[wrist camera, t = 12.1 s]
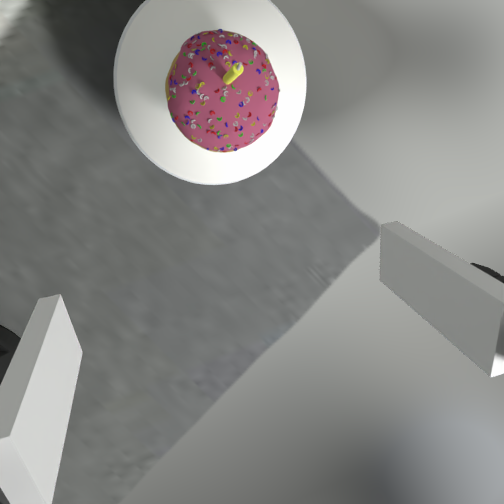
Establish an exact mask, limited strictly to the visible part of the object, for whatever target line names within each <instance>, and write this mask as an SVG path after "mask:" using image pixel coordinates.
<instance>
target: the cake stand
mask: <svg viewBox="0 0 504 504" xmlns="http://www.w3.org/2000/svg"><path fill="white" fill-rule="evenodd" d="M218 29H222V30H225V31H230V32H235V33H239V34H241V35H243V36H245V37H247V38H249V39H250V40H252V41H254V43H256V44H257V45H258V46H259V47H261V48H262V49H263V50H264V52H265V53H266V54H267V55H268V58H269V60H270V63H271V65H272V68H273V70H274V73H275V75H276V76H277V80H278V83H279V89H280V92H279V97H278V103H277V106H278V110H277V111H276V113H275V118H274V119H273V122H272V125H271V126H270V128H269V129H268V131H267V132H266V133H265V134H263V135H262V136H261V137H260V138H258V139H257V140H256V141H255V142H253V143H252V144H250V145H248V146H246V147H244V148H241V149H239V150H237V151H233V152H227V153H220V152H212V151H208V150H205V149H203V148H201V147H200V146H198V145H196V144H194V143H192V142H191V141H189V140H188V139H187V138H186V137H185V136H184V135H183V134H182V133H181V132H180V131H179V129H178V128H177V126H176V125H175V123H174V122H173V121H172V118H171V116H170V112H169V109H168V103H167V98H166V92H165V82H166V77H167V74H168V72H169V69H170V67H171V64H172V62H173V60H174V58H175V57H176V55H177V54H178V53H179V52H180V50H181V46H182V45H183V43H184V42H185V41H186V40H187V39H189V38H190V37H191V36H193V35H195V34H196V33H197V32H202V31H212V30H218ZM114 91H115V98H116V103H117V106H118V110H119V113H120V116H121V119H122V121H123V123H124V126H125V128H126V130H127V131H128V133H129V135H130V137H131V138H132V140H133V141H134V143H135V144H136V145H137V147H138V148H139V149H140V150H141V151H142V152H143V154H144V155H145V156H146V157H147V158H148V159H149V160H151V161H152V162H153V163H154V164H155V165H157V166H158V167H159V168H161V169H163V170H164V171H166V172H167V173H169V174H171V175H173V176H175V177H177V178H180V179H183V180H186V181H189V182H193V183H198V184H206V185H219V184H228V183H233V182H237V181H240V180H243V179H246V178H248V177H250V176H252V175H254V174H256V173H258V172H260V171H261V170H263V169H264V168H266V167H267V166H268V165H269V164H271V163H272V162H273V161H274V160H275V159H276V158H277V157H278V156H279V155H280V154H281V153H282V152H283V151H284V149H285V148H286V146H287V145H288V143H289V142H290V141H291V139H292V137H293V135H294V133H295V131H296V129H297V127H298V124H299V122H300V119H301V116H302V112H303V109H304V104H305V97H306V69H305V63H304V58H303V54H302V51H301V48H300V45H299V42H298V40H297V37H296V35H295V33H294V31H293V29H292V27H291V26H290V24H289V23H288V21H287V19H286V18H285V17H284V15H283V14H282V13H281V12H280V10H279V9H278V8H277V7H276V6H275V5H274V4H273V3H272V2H271V1H270V0H145V1H144V2H143V3H142V4H141V5H140V6H139V8H138V9H137V10H136V11H135V13H134V14H133V15H132V17H131V18H130V20H129V22H128V23H127V25H126V27H125V29H124V31H123V33H122V36H121V38H120V41H119V44H118V48H117V52H116V56H115V63H114Z"/></svg>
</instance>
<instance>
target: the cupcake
mask: <svg viewBox="0 0 504 504" xmlns="http://www.w3.org/2000/svg"><path fill="white" fill-rule="evenodd" d="M165 92H166V98H167V103H168V109H169V112H170V116H171V118H172V121H173V122H174V123H175V125H176V126H177V128H178V129H179V131H180V132H181V133H182V134H183V135H184V136H185V137H186V138H187V139H188V140H189V141H191V142H192V143H194V144H196V145H198V146H200V147H201V148H203V149H205V150H208V151H212V152H220V153H227V152H233V151H237V150H239V149H241V148H244V147H246V146H248V145H250V144H252V143H253V142H255V141H256V140H257V139H258V138H260V137H261V136H262V135H263V134H265V133H266V132H267V131H268V129H269V128H270V126H271V125H272V122H273V119H274V118H275V113H276V111H277V110H278V106H277V103H278V97H279V92H280V89H279V83H278V80H277V76H276V75H275V73H274V70H273V68H272V65H271V63H270V60H269V58H268V55H267V54H266V53H265V52H264V50H263V49H262V48H261V47H259V46H258V45H257V44H256V43H254V41H252V40H250V39H249V38H247V37H245V36H243V35H241V34H239V33H235V32H230V31H225V30H222V29H218V30H212V31H202V32H197V33H196V34H195V35H193V36H191V37H190V38H189V39H187V40H186V41H185V42H184V43H183V45H182V46H181V50H180V52H179V53H178V54H177V55H176V57H175V58H174V60H173V62H172V64H171V67H170V69H169V72H168V74H167V77H166V82H165Z"/></svg>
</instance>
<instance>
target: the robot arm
mask: <svg viewBox="0 0 504 504" xmlns="http://www.w3.org/2000/svg"><path fill="white" fill-rule="evenodd" d="M380 240H381V242H380V281H381V282H383V284H385V285H386V286H387V287H388V288H389V289H390V290H391V291H393V292H394V293H395V294H396V295H397V296H398V297H399V298H401V299H402V300H403V301H404V302H405V303H406V304H407V305H409V306H410V307H411V308H412V309H413V310H414V311H415V312H417V313H418V314H419V315H420V316H421V317H422V318H423V319H425V320H426V321H427V322H428V323H429V324H430V325H431V326H433V327H434V328H435V329H436V330H437V331H438V332H439V333H440V334H442V335H443V336H444V337H445V338H446V339H447V340H449V341H450V342H451V343H452V344H453V345H454V346H456V347H457V348H458V349H459V350H460V351H461V352H462V353H463V354H464V355H466V356H467V357H468V358H469V359H470V360H471V361H473V362H474V363H475V364H476V365H477V366H478V367H479V368H480V369H482V370H483V371H484V372H485V373H486V374H487V375H488V376H490V377H494V376H497V375H500V374H503V373H504V276H501V275H500V274H499V273H497V272H495V271H493V270H491V269H490V268H488V267H484V266H481V265H478V264H475V263H470V264H469V263H468V262H466V261H464V260H462V259H461V258H459V257H458V256H456V255H454V254H452V253H451V252H449V251H447V250H446V249H444V248H442V247H441V246H439V245H437V244H435V243H434V242H432V241H430V240H429V239H427V238H425V237H423V236H422V235H420V234H418V233H417V232H415V231H413V230H411V229H409V228H408V227H406V226H405V225H403V224H401V223H400V222H398V221H395V222H390V223H385V224H381V239H380ZM82 353H83V352H82V350H81V347H80V344H79V342H78V339H77V336H76V334H75V331H74V328H73V326H72V323H71V320H70V318H69V315H68V313H67V310H66V307H65V305H64V302H63V299H62V297H61V294H59V295H54V296H50V297H45V298H40V299H39V300H38V302H37V304H36V306H35V309H34V311H33V313H32V315H31V318H30V320H29V322H28V324H27V327H26V329H25V331H24V333H23V336H22V338H21V339H20V338H19V337H18V336H16V335H15V334H13V333H12V332H10V331H9V330H7V329H5V328H3V327H1V326H0V504H52V499H53V494H54V489H55V484H56V479H57V475H58V470H59V465H60V460H61V455H62V450H63V445H64V440H65V436H66V431H67V426H68V421H69V416H70V411H71V406H72V401H73V397H74V392H75V387H76V382H77V377H78V372H79V367H80V363H81V358H82Z"/></svg>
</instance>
